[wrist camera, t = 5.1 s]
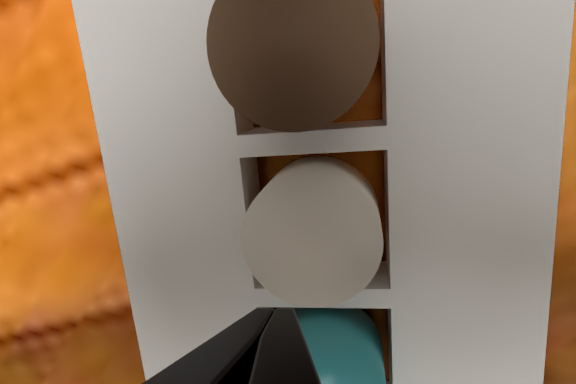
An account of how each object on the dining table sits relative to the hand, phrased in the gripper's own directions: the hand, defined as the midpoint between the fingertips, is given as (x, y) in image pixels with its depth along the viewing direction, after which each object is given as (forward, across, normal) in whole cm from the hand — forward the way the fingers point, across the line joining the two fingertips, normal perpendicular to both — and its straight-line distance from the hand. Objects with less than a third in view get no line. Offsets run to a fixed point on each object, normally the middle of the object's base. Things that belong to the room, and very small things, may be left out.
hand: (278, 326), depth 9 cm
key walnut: (+7, 0, -6) cm, 9 cm away
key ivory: (+8, 0, 0) cm, 8 cm away
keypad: (+9, 0, 0) cm, 9 cm away
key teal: (+8, 0, +6) cm, 10 cm away
